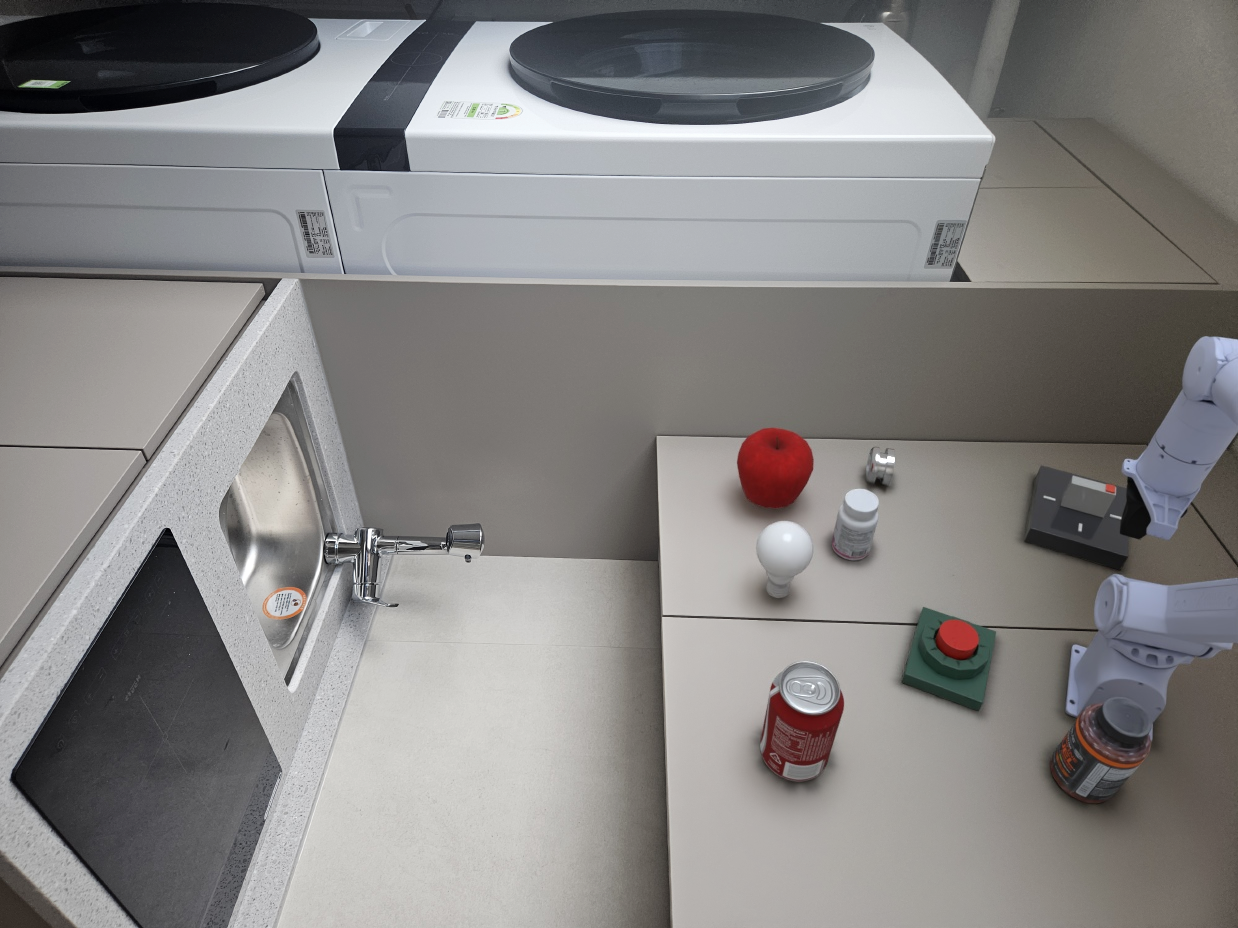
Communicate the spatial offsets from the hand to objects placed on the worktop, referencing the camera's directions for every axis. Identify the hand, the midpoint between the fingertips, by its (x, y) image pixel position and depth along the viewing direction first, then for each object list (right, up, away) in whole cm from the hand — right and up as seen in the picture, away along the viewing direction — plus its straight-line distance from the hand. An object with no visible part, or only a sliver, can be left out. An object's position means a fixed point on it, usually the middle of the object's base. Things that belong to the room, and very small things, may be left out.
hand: (1129, 532), depth 89 cm
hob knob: (+3, +2, +14) cm, 14 cm away
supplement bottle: (-11, -23, -10) cm, 27 cm away
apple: (-36, +3, +20) cm, 41 cm away
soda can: (-39, -22, -7) cm, 45 cm away
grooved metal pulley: (-21, +5, +22) cm, 31 cm away
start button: (-20, -12, -2) cm, 23 cm away
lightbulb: (-37, -8, +8) cm, 39 cm away
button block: (-20, -14, 0) cm, 24 cm away
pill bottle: (-27, -3, +13) cm, 30 cm away
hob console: (+3, 0, +16) cm, 16 cm away
